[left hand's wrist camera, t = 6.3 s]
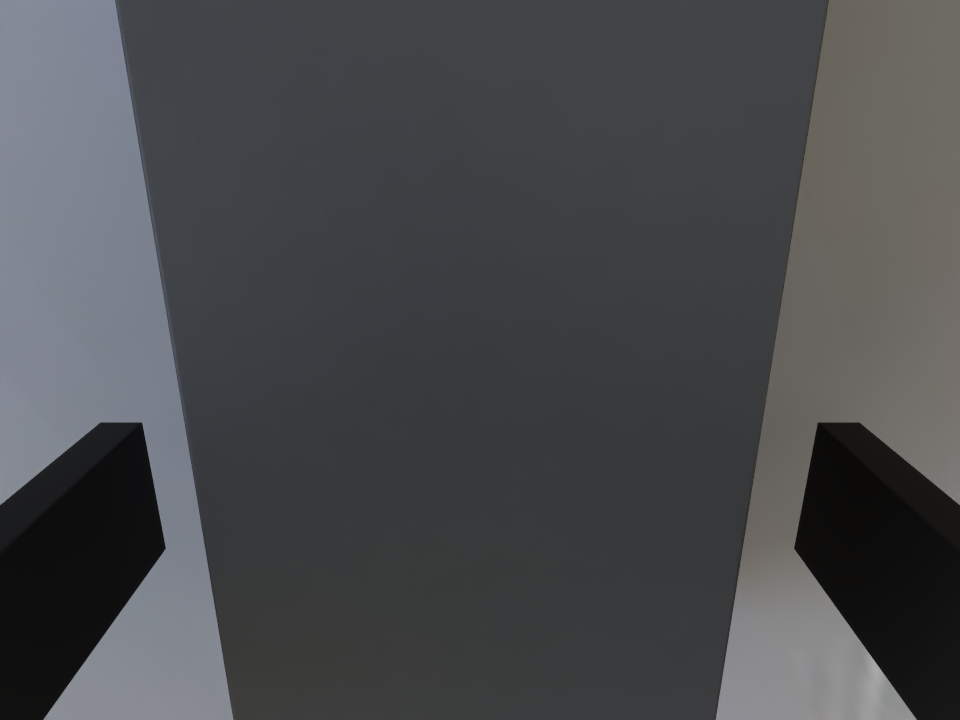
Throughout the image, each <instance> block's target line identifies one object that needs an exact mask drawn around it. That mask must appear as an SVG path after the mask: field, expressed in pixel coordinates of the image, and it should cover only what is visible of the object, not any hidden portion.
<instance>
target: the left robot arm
mask: <svg viewBox="0 0 960 720" xmlns="http://www.w3.org/2000/svg"><path fill="white" fill-rule="evenodd" d="M165 549H166V547H165V542H164V537H163V531H162V526H161V521H160V516H159V510H158V505H157V500H156V494H155V489H154V484H153V478H152V473H151V468H150V462H149V457H148V452H147V446H146V441H145V436H144V430H143V425H142V423H100V424H98V425H97V426H96V427H95V428H93V429H92V430H91V431H90V432H89V433H87V434H86V435H85V436H84V437H83V438H81V439H80V440H79V441H78V442H76V443H75V444H74V445H73V446H72V447H70V448H69V449H68V450H67V451H66V452H64V453H63V454H62V455H61V456H59V457H58V458H57V459H56V460H55V461H53V462H52V463H51V464H50V465H49V466H47V467H46V468H45V469H44V470H43V471H41V472H40V473H39V474H38V475H36V476H35V477H34V478H33V479H32V480H30V481H29V482H28V483H27V484H26V485H24V486H23V487H22V488H21V489H19V490H18V491H17V492H16V493H15V494H13V495H12V496H11V497H10V498H9V499H7V500H6V501H5V502H4V503H2V504H1V505H0V720H43V719H44V718H45V716H46V715H47V714H48V712H49V711H50V709H51V708H52V707H53V705H54V704H55V702H56V701H57V700H58V698H59V697H60V695H61V694H62V693H63V691H64V690H65V688H66V687H67V686H68V684H69V683H70V681H71V680H72V679H73V677H74V676H75V674H76V673H77V672H78V670H79V669H80V667H81V666H82V665H83V663H84V662H85V661H86V659H87V658H88V656H89V655H90V654H91V652H92V651H93V649H94V648H95V647H96V645H97V644H98V642H99V641H100V640H101V638H102V637H103V635H104V634H105V633H106V631H107V630H108V628H109V627H110V626H111V624H112V623H113V621H114V620H115V619H116V617H117V616H118V614H119V613H120V612H121V610H122V609H123V607H124V606H125V605H126V603H127V602H128V601H129V599H130V598H131V596H132V595H133V594H134V592H135V591H136V589H137V588H138V587H139V585H140V584H141V582H142V581H143V580H144V578H145V577H146V575H147V574H148V573H149V571H150V570H151V568H152V567H153V566H154V564H155V563H156V561H157V560H158V559H159V557H160V556H161V554H162V553H163V552H164V550H165ZM794 549H795V550H796V552H797V553H798V554H799V556H800V557H801V559H802V560H803V561H804V563H805V564H806V566H807V567H808V568H809V570H810V571H811V573H812V574H813V575H814V577H815V578H816V580H817V581H818V582H819V584H820V585H821V587H822V588H823V589H824V591H825V592H826V594H827V595H828V596H829V598H830V599H831V601H832V602H833V603H834V605H835V606H836V608H837V609H838V610H839V612H840V613H841V614H842V616H843V617H844V619H845V620H846V621H847V623H848V624H849V626H850V627H851V628H852V630H853V631H854V633H855V634H856V635H857V637H858V638H859V640H860V641H861V642H862V644H863V645H864V647H865V648H866V649H867V651H868V652H869V654H870V655H871V656H872V658H873V659H874V661H875V662H876V663H877V665H878V666H879V668H880V669H881V670H882V672H883V673H884V674H885V676H886V677H887V679H888V680H889V681H890V683H891V684H892V686H893V687H894V688H895V690H896V691H897V693H898V694H899V695H900V697H901V698H902V700H903V701H904V702H905V704H906V705H907V707H908V708H909V709H910V711H911V712H912V714H913V715H914V716H915V718H916V719H917V720H960V505H959V504H958V503H956V502H955V501H954V500H953V499H951V498H950V497H949V496H948V495H947V494H945V493H944V492H943V491H942V490H941V489H939V488H938V487H937V486H936V485H934V484H933V483H932V482H931V481H930V480H928V479H927V478H926V477H925V476H924V475H922V474H921V473H920V472H919V471H917V470H916V469H915V468H914V467H913V466H911V465H910V464H909V463H908V462H907V461H905V460H904V459H903V458H902V457H900V456H899V455H898V454H897V453H896V452H894V451H893V450H892V449H891V448H890V447H888V446H887V445H886V444H885V443H883V442H882V441H881V440H880V439H879V438H877V437H876V436H875V435H874V434H873V433H871V432H870V431H869V430H868V429H866V428H865V427H864V426H863V425H862V424H860V423H818V425H817V430H816V435H815V441H814V446H813V451H812V457H811V462H810V467H809V473H808V478H807V483H806V489H805V494H804V499H803V505H802V510H801V515H800V521H799V526H798V531H797V537H796V542H795V547H794Z"/></svg>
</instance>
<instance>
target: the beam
mask: <svg viewBox="0 0 960 720" xmlns="http://www.w3.org/2000/svg"><path fill="white" fill-rule="evenodd" d="M828 1H829V0H115V2H116V8H117V14H118V20H119V26H120V32H121V38H122V44H123V51H124V57H125V63H126V69H127V75H128V81H129V87H130V93H131V99H132V105H133V111H134V117H135V123H136V130H137V136H138V142H139V148H140V154H141V160H142V166H143V172H144V178H145V184H146V190H147V196H148V203H149V209H150V215H151V221H152V227H153V233H154V239H155V245H156V251H157V257H158V263H159V269H160V275H161V282H162V288H163V294H164V300H165V306H166V312H167V318H168V324H169V330H170V336H171V342H172V348H173V354H174V361H175V367H176V373H177V379H178V385H179V391H180V397H181V403H182V409H183V415H184V421H185V427H186V433H187V440H188V446H189V452H190V458H191V464H192V470H193V476H194V482H195V488H196V494H197V500H198V506H199V513H200V519H201V525H202V531H203V537H204V543H205V549H206V555H207V561H208V567H209V573H210V579H211V585H212V592H213V598H214V604H215V610H216V616H217V622H218V628H219V634H220V640H221V646H222V652H223V658H224V664H225V671H226V677H227V683H228V689H229V695H230V701H231V707H232V713H233V719H234V720H716V714H717V707H718V701H719V695H720V688H721V682H722V675H723V669H724V663H725V656H726V650H727V644H728V637H729V631H730V625H731V618H732V612H733V605H734V599H735V593H736V586H737V580H738V574H739V567H740V561H741V555H742V548H743V542H744V535H745V529H746V523H747V516H748V510H749V504H750V497H751V491H752V485H753V478H754V472H755V466H756V459H757V453H758V446H759V440H760V434H761V427H762V421H763V415H764V408H765V402H766V396H767V389H768V383H769V376H770V370H771V364H772V357H773V351H774V345H775V338H776V332H777V326H778V319H779V313H780V306H781V300H782V294H783V287H784V281H785V275H786V268H787V262H788V256H789V249H790V243H791V237H792V230H793V224H794V217H795V211H796V205H797V198H798V192H799V186H800V179H801V173H802V167H803V160H804V154H805V147H806V141H807V135H808V128H809V122H810V116H811V109H812V103H813V97H814V90H815V84H816V77H817V71H818V65H819V58H820V52H821V46H822V39H823V33H824V27H825V20H826V14H827V8H828Z"/></svg>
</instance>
